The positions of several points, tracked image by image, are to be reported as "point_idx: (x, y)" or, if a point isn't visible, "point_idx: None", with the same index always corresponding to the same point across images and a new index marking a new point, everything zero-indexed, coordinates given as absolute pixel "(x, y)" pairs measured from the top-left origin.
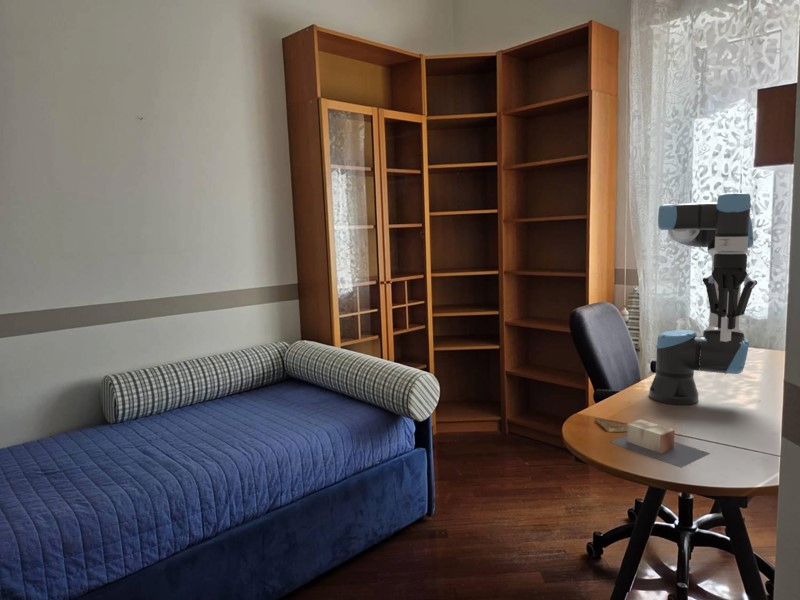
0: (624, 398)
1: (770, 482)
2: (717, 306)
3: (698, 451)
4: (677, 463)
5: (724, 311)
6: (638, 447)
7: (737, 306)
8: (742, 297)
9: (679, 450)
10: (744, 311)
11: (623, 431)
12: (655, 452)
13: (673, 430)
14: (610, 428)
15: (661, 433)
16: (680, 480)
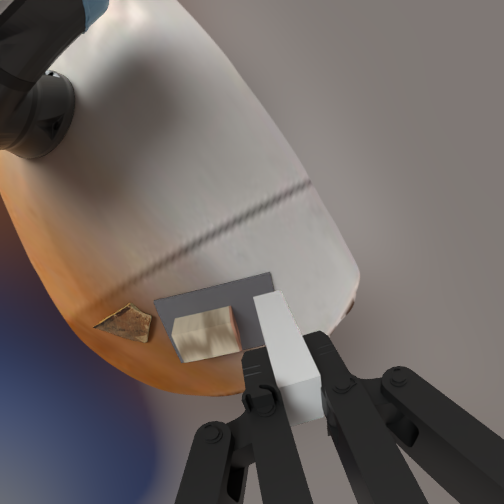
0: (16, 204)
1: (358, 270)
2: (223, 467)
3: (257, 284)
4: None
5: (279, 427)
6: None
7: (409, 453)
8: (462, 484)
9: (242, 305)
10: (422, 382)
11: (149, 324)
12: None
13: (233, 325)
14: (138, 337)
15: (236, 347)
16: None
